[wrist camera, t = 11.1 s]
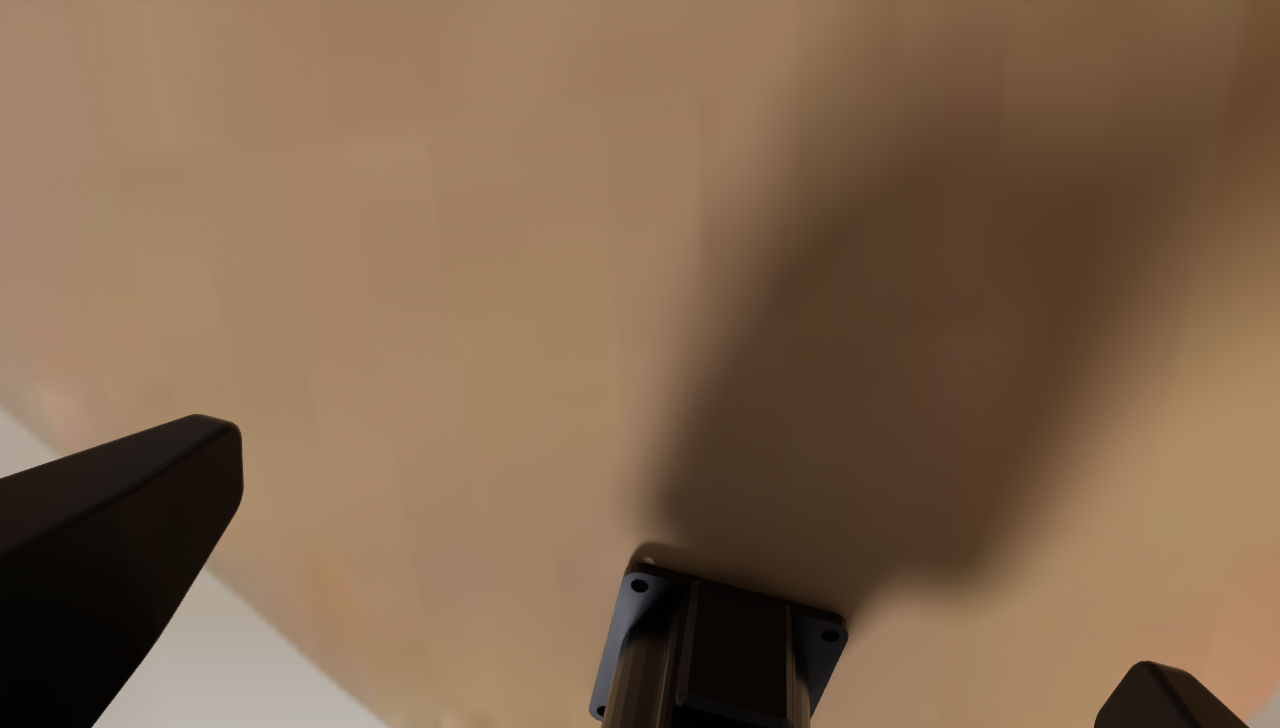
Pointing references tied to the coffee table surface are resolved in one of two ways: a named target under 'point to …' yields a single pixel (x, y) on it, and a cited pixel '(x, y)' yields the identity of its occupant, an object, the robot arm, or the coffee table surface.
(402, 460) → the coffee table surface
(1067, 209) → the coffee table surface
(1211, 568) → the coffee table surface
